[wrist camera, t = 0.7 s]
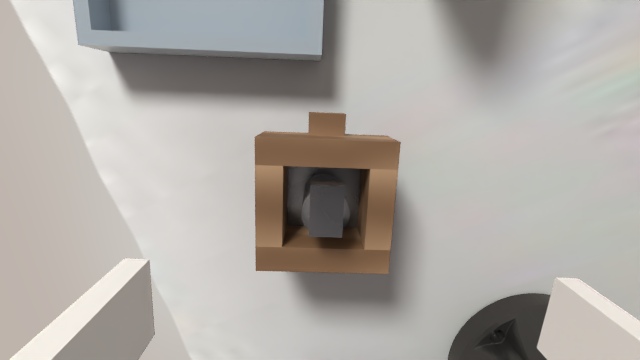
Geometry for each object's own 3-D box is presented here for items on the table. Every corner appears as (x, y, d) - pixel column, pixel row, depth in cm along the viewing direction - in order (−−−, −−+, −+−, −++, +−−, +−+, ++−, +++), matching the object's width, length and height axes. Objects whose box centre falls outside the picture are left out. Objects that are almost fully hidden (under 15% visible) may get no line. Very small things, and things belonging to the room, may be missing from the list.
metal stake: (359, 219, 30) (380, 275, 20) (281, 217, 30) (266, 272, 20) (364, 142, 29) (390, 163, 19) (282, 139, 28) (266, 159, 19)
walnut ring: (377, 248, 27) (388, 274, 23) (264, 245, 26) (255, 270, 22) (388, 115, 24) (402, 117, 20) (264, 110, 24) (254, 112, 20)
